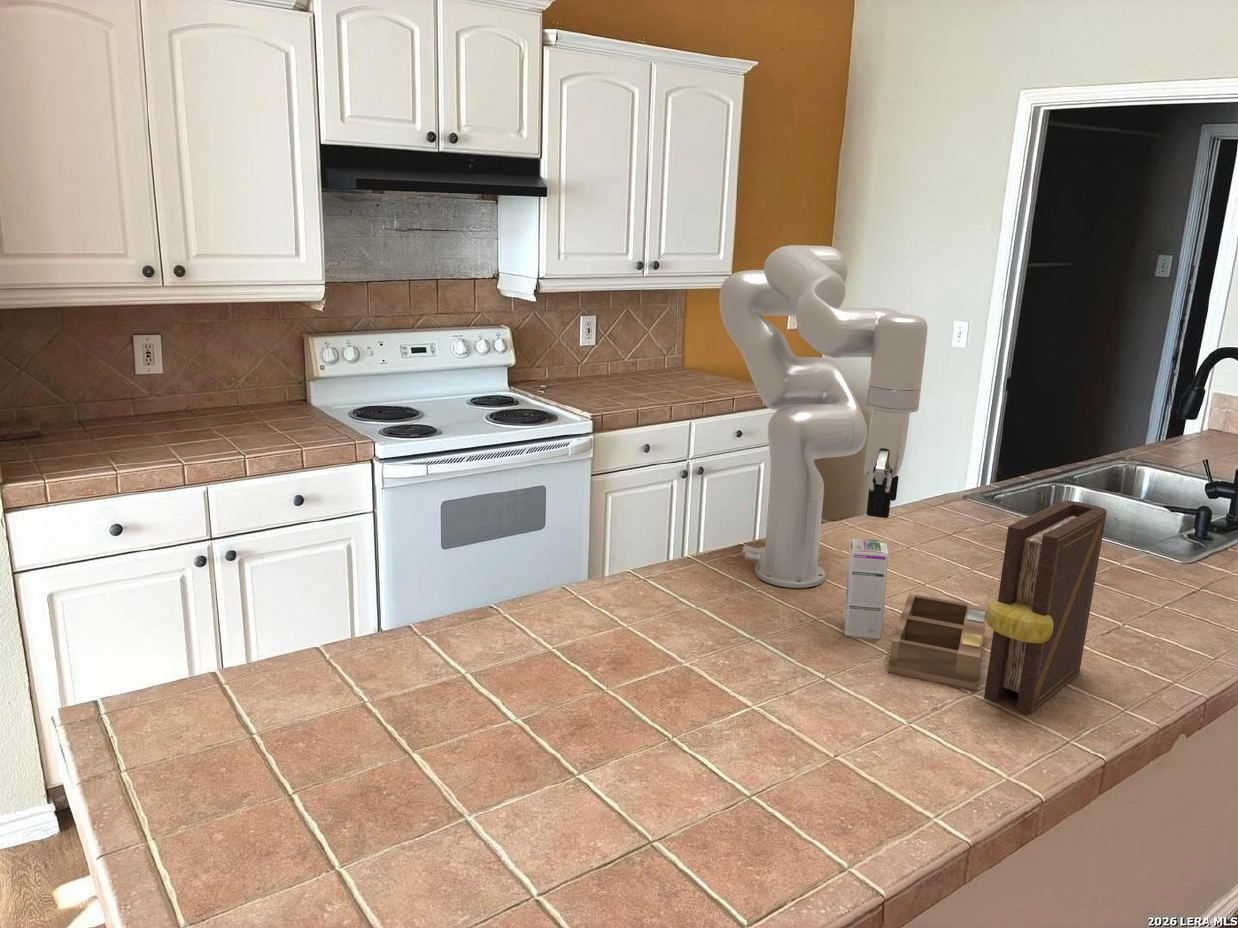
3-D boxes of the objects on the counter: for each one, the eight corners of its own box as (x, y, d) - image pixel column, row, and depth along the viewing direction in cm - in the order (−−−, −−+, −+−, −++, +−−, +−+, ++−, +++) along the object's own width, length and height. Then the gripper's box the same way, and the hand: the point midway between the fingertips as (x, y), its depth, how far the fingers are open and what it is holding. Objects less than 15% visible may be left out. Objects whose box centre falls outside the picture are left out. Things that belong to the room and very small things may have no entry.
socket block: (975, 690, 133) (980, 655, 132) (888, 672, 138) (892, 638, 136) (983, 636, 151) (988, 605, 149) (905, 621, 155) (909, 591, 154)
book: (1033, 653, 145) (1057, 497, 139) (1091, 673, 139) (1119, 511, 133) (966, 701, 130) (990, 528, 124) (1028, 725, 124) (1056, 545, 118)
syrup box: (881, 640, 148) (891, 552, 144) (842, 636, 149) (851, 549, 146) (879, 625, 154) (888, 540, 150) (842, 621, 155) (850, 537, 151)
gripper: (875, 386, 151) (864, 490, 155) (859, 406, 135) (848, 520, 140) (924, 391, 148) (912, 496, 153) (913, 411, 133) (900, 527, 137)
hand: (881, 507), depth 146 cm, fingers open, 9 cm apart
